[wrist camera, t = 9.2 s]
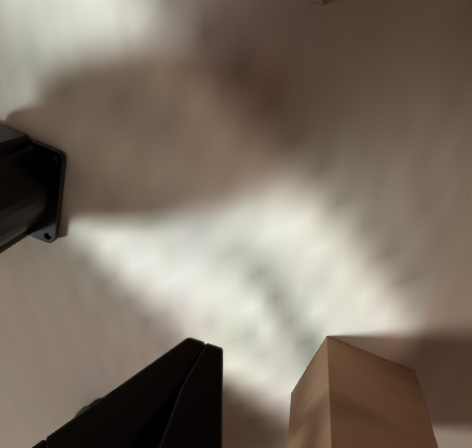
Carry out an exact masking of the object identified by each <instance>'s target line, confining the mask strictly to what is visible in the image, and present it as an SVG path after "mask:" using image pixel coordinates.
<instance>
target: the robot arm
mask: <svg viewBox="0 0 472 448" xmlns="http://www.w3.org/2000/svg"><path fill="white" fill-rule="evenodd" d="M54 155H55V156H56V157H57V158H58V161H57V160H56V159H55V157H54ZM65 166H66V156H65V154H64V153H63V152H62V151H61V150H59V149H56V148H54V147H51V146H49V145H46V144H44V143H41V142H39V141H36V140H33V139H31V138H30V137H29V136H28V135H27V134H25V133H23V132H20V131H18V130H15V129H13V128H10V127H7V126H5V125H2V124H0V253H2V252H3V251H5V250H6V249H8V248H9V247H11V246H12V245H14V244H16V243H17V242H19V241H20V240H22V239H23V238H25V237H26V236H28V235H30V236H32V237H35V238H37V239H40V240H42V241H45V242H47V243H52V242H54V241H55V240H56V239H57V238H58V235H59V225H60V215H61V206H62V196H63V186H64V176H65ZM48 233H49V234H50V235H51V236H49V234H48ZM222 422H223V349H222V348H221V347H218V346H215V345H212V344H209V343H207V344H206V345H205V343H204V342H203V341H200V340H197V339H194V338H191V337H189V338H186V339H185V340H183V341H182V342H181V343H179V344H178V345H176V346H175V347H174V348H172V349H171V350H169V351H168V352H167V353H165V354H164V355H162V356H161V357H160V358H158V359H157V360H155V361H154V362H152V363H151V364H150V365H148V366H147V367H145V368H144V369H143V370H141V371H140V372H138V373H137V374H136V375H134V376H133V377H131V378H130V379H128V380H127V381H126V382H124V383H123V384H121V385H120V386H119V387H117V388H116V389H114V390H113V391H112V392H110V393H109V394H107V395H106V396H104V397H103V398H102V399H100V400H99V401H97V402H96V403H95V404H93V405H92V406H90V407H89V408H88V409H86V410H85V411H83V412H82V413H81V414H79V415H78V416H76V417H75V418H73V419H72V420H71V421H69V422H68V423H66V424H65V425H64V426H62V427H61V428H59V429H58V430H57V431H55V432H54V433H52V434H51V435H49V436H48V437H47V439H46V441H45V440H42V441H41V442H39V443H38V444H36V445H35V446H34V447H32V448H222Z"/></svg>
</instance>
